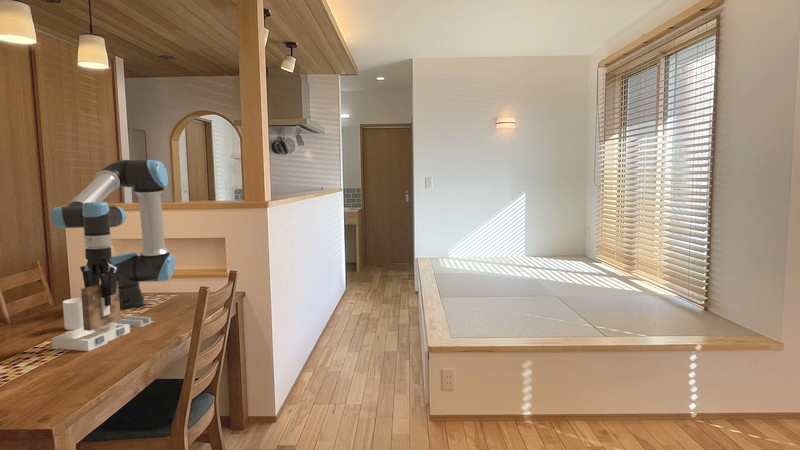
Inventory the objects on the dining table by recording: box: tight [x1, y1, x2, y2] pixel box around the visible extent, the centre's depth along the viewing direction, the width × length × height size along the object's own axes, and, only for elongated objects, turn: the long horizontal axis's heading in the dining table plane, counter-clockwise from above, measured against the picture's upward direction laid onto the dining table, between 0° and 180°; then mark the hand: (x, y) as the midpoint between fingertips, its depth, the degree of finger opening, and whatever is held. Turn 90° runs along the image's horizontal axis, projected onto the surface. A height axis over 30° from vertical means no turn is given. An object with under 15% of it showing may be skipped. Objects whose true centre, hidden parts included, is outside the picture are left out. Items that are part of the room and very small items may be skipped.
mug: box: [62, 297, 84, 331], centre depth 179 cm, size 9×12×11 cm
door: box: [80, 281, 122, 331], centre depth 162 cm, size 13×3×14 cm, turn 169°
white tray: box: [51, 322, 131, 352], centre depth 164 cm, size 18×14×4 cm
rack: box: [115, 315, 155, 328], centre depth 183 cm, size 7×13×2 cm, turn 79°
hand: (102, 314), depth 163 cm, fingers closed on door, 2 cm apart
